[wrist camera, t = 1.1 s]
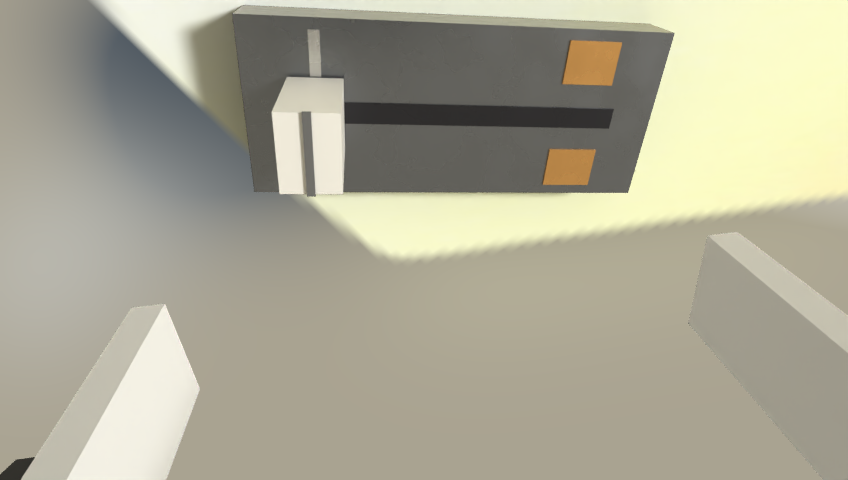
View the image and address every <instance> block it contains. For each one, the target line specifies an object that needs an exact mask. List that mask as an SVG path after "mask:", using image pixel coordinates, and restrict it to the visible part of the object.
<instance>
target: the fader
mask: <svg viewBox="0 0 848 480" xmlns="http://www.w3.org/2000/svg"><path fill="white" fill-rule="evenodd" d="M272 121H273V132H274V142H275V152H276V162H277V173H278V183H279V193H280V194H307V196H316V194H343V182H344V160H345V123H344V79H342V78H309V77H287V78H286V80H285V82H284V85H283V87H282V89H281V92H280V94H279V96H278V99H277V101H276V103H275V105H274V108H273V110H272Z"/></svg>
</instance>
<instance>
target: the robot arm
mask: <svg viewBox="0 0 848 480" xmlns="http://www.w3.org/2000/svg"><path fill="white" fill-rule="evenodd" d="M688 324H689V325H690V326H691V327H692V329H693V330H694V331H695V332H696V333H697V334H698V335H699V336H700V338H701V339H702V340H703V341H704V342H705V344H706V345H707V346H708V347H709V348H710V349H711V350H712V352H713V353H714V354H715V355H716V356H717V358H718V359H719V360H720V361H721V362H722V363H723V364H724V366H725V367H726V368H727V369H728V370H729V371H730V373H731V374H732V375H733V376H734V377H735V378H736V379H737V380H738V382H739V383H740V384H741V385H742V386H743V388H744V389H745V390H746V391H747V392H748V393H749V394H750V396H751V397H752V398H753V399H754V400H755V401H756V403H757V404H758V405H759V406H760V407H761V408H762V410H763V411H764V412H765V413H766V414H767V415H768V417H769V418H770V419H771V420H772V421H773V422H774V423H775V424H776V426H777V427H778V428H779V429H780V430H781V432H782V433H783V434H784V435H785V436H786V437H787V438H788V440H789V441H790V442H791V443H792V444H793V445H794V446H795V448H796V449H797V450H798V451H799V452H800V453H801V455H802V456H803V457H804V458H805V459H806V461H807V462H808V463H809V464H810V465H811V466H812V467H813V469H814V470H815V471H816V472H817V473H818V474H819V475H820V477H821V478H822V479H823V480H848V315H846V314H845V313H843V312H842V311H841V310H840V309H838V308H837V307H836V306H834V305H833V304H832V303H831V302H829V301H828V300H827V299H825V298H824V297H823V296H821V295H820V294H819V293H817V292H816V291H814V290H813V289H812V288H811V287H809V286H808V285H807V284H805V283H804V282H803V281H801V280H800V279H799V278H798V277H796V276H795V275H794V274H792V273H791V272H789V271H788V270H787V269H786V268H784V267H783V266H782V265H780V264H779V263H778V262H777V261H775V260H774V259H773V258H771V257H770V256H769V255H767V254H766V253H765V252H763V251H762V250H761V249H759V248H758V247H757V246H755V245H754V244H753V243H752V242H750V241H749V240H748V239H746V238H745V237H743V236H742V235H741V234H740V233H738V232H732V233H724V234H716V235H709V236H707V240H706V244H705V249H704V254H703V258H702V263H701V267H700V272H699V276H698V281H697V286H696V290H695V295H694V299H693V304H692V308H691V313H690V317H689V322H688ZM199 390H200V388H199V386H198V383H197V381H196V378H195V376H194V373H193V371H192V369H191V366H190V364H189V361H188V359H187V357H186V354H185V352H184V349H183V347H182V344H181V342H180V339H179V337H178V335H177V332H176V330H175V327H174V325H173V322H172V320H171V318H170V315H169V313H168V310H167V308H166V305H165V304H158V305H150V306H142V307H135V308H131V309H130V311H129V312H128V314H127V315H126V317H125V318H124V320H123V322H122V323H121V325H120V326H119V328H118V329H117V331H116V333H115V334H114V336H113V337H112V339H111V340H110V342H109V344H108V345H107V346H106V348H105V350H104V351H103V353H102V354H101V356H100V357H99V359H98V360H97V362H96V364H95V365H94V367H93V368H92V370H91V372H90V373H89V374H88V376H87V378H86V379H85V381H84V382H83V384H82V386H81V387H80V389H79V390H78V392H77V393H76V395H75V396H74V398H73V399H72V401H71V402H70V404H69V406H68V407H67V409H66V410H65V412H64V413H63V415H62V416H61V418H60V419H59V421H58V423H57V424H56V426H55V427H54V429H53V431H52V432H51V433H50V435H49V437H48V438H47V440H46V441H45V443H44V444H43V446H42V448H41V449H40V451H39V452H38V454H37V455H36V457H33V458H25V459H18V460H16V461H14V462H13V463H12V464H11V465H10V466H9V467H8V468H7V469H6V470H5V471H3V472H2V473H1V474H0V480H166V479H167V476H168V473H169V471H170V468H171V465H172V462H173V460H174V457H175V454H176V452H177V449H178V446H179V443H180V441H181V438H182V436H183V433H184V430H185V427H186V425H187V422H188V419H189V417H190V414H191V411H192V409H193V406H194V403H195V400H196V398H197V395H198V392H199Z"/></svg>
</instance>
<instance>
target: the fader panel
mask: <svg viewBox="0 0 848 480" xmlns="http://www.w3.org/2000/svg"><path fill="white" fill-rule="evenodd" d="M232 16H233V24H234V32H235V40H236V48H237V56H238V64H239V72H240V80H241V88H242V96H243V104H244V112H245V120H246V128H247V136H248V144H249V152H250V160H251V168H252V176H253V184H254V191H255V192H279V183H278V173H277V162H276V152H275V142H274V132H273V121H272V110H273V108H274V105H275V103H276V101H277V99H278V96H279V94H280V92H281V89H282V87H283V85H284V82H285V80H286V78H287V77H309V78H342V79H344V123H345V160H344V182H343V192H554V193H628V191H629V187H630V184H631V180H632V177H633V174H634V170H635V167H636V163H637V160H638V156H639V153H640V150H641V146H642V143H643V139H644V136H645V133H646V129H647V126H648V122H649V119H650V115H651V112H652V109H653V105H654V102H655V98H656V95H657V92H658V88H659V85H660V81H661V78H662V74H663V71H664V68H665V64H666V61H667V57H668V54H669V50H670V47H671V44H672V40H673V37H674V33H673V32H670V31H668V30H665V29H662V28H659V27H656V26H654V25H651V24H640V23H619V22H597V21H575V20H554V19H532V18H510V17H489V16H467V15H445V14H424V13H402V12H381V11H359V10H337V9H316V8H294V7H272V6H251V5H243V6H241V7H240V8H239V9H237V10H236V11H235V12H233V13H232Z"/></svg>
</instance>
